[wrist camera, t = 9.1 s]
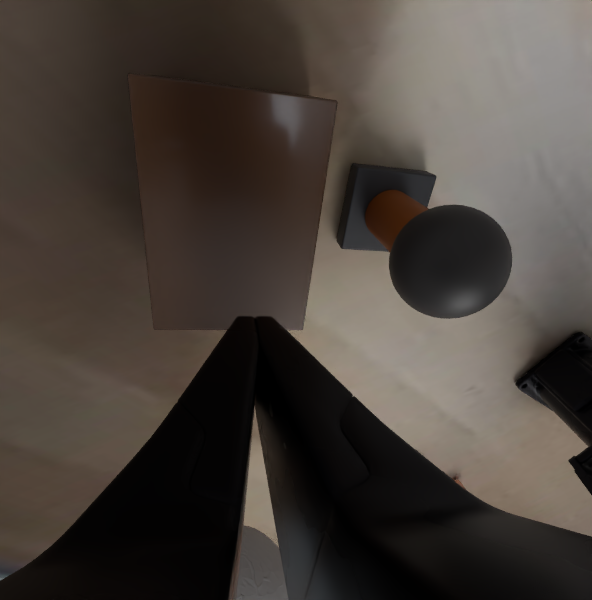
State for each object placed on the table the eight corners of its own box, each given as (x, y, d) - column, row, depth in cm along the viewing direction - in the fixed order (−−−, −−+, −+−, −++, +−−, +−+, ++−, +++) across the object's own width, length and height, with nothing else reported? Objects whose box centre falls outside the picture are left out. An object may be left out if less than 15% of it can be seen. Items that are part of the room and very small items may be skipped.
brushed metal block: (311, 96, 17) (338, 100, 13) (288, 282, 22) (303, 330, 18) (154, 75, 16) (126, 72, 11) (169, 279, 21) (153, 330, 16)
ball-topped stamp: (388, 161, 21) (571, 207, 16) (371, 232, 23) (526, 294, 18) (287, 165, 16) (510, 237, 10) (277, 256, 18) (456, 356, 12)
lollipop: (159, 412, 26) (92, 732, 13) (250, 375, 25) (271, 670, 13) (207, 464, 30) (191, 750, 17) (287, 433, 29) (331, 703, 16)
